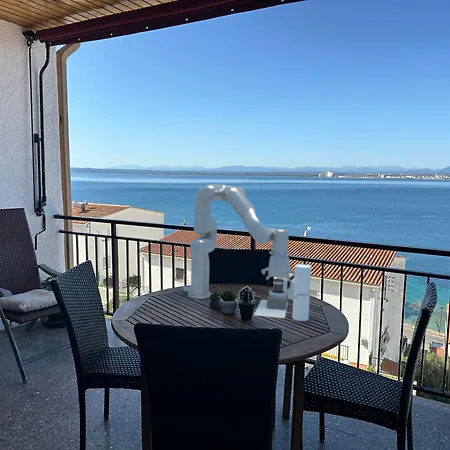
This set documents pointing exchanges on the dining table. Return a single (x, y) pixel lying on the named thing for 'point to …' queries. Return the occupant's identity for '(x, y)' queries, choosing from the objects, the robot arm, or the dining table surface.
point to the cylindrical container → (301, 292)
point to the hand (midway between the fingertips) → (278, 287)
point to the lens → (278, 285)
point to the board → (269, 310)
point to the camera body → (277, 300)
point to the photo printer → (291, 289)
